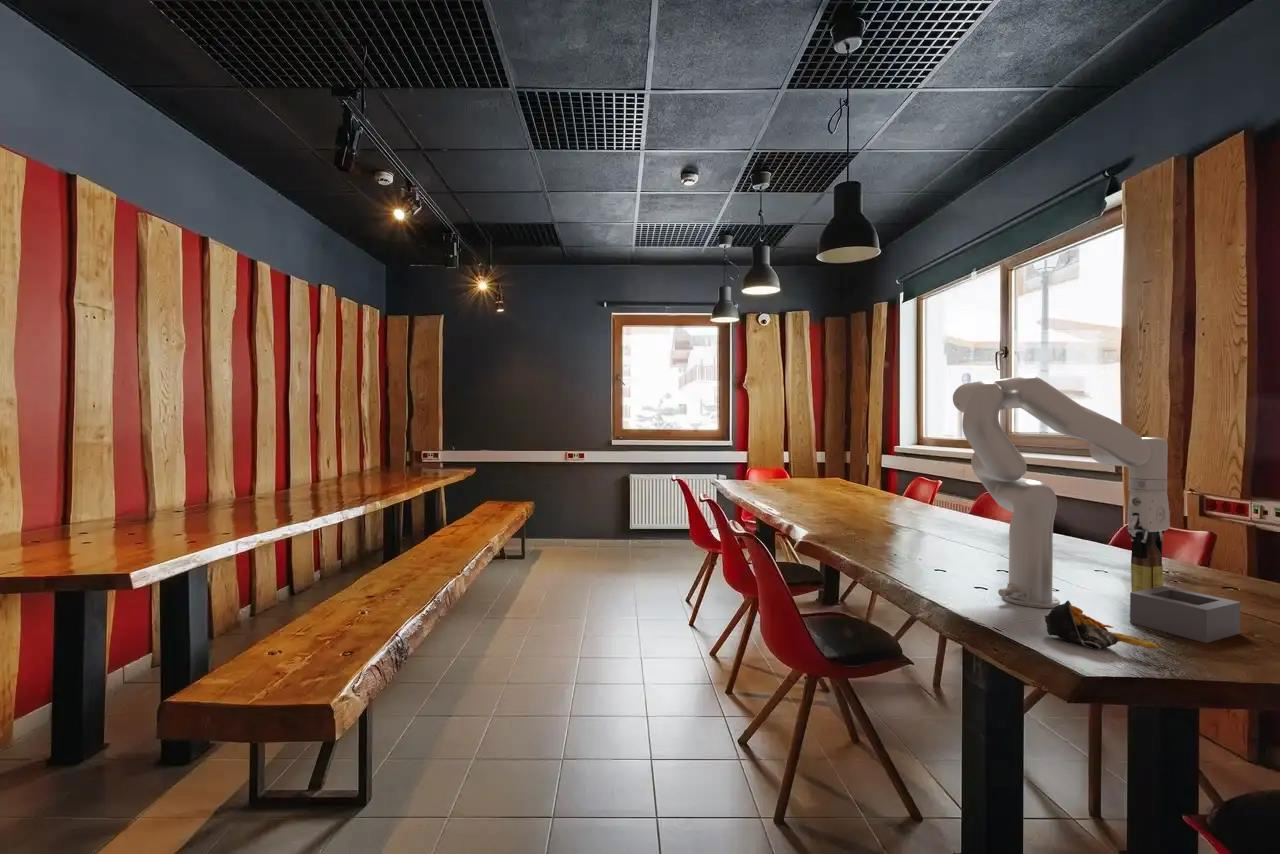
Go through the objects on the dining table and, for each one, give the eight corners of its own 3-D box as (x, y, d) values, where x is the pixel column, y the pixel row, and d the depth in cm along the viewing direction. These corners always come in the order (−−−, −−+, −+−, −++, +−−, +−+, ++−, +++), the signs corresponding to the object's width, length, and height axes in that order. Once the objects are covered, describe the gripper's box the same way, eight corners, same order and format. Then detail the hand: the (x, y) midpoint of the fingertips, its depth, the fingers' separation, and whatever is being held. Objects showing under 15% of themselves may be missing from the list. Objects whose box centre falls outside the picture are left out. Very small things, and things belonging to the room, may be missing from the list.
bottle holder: (1206, 643, 126) (1206, 610, 126) (1130, 622, 139) (1130, 592, 139) (1240, 633, 132) (1240, 602, 132) (1163, 614, 145) (1164, 585, 144)
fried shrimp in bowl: (1042, 607, 135) (1140, 595, 125) (1059, 659, 130) (1163, 651, 120) (1034, 601, 129) (1137, 587, 119) (1052, 655, 124) (1161, 645, 114)
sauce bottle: (1157, 603, 154) (1159, 526, 154) (1167, 610, 148) (1169, 530, 148) (1126, 600, 156) (1128, 524, 156) (1134, 606, 151) (1136, 527, 151)
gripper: (1145, 488, 145) (1144, 563, 145) (1184, 485, 152) (1183, 556, 152) (1110, 485, 152) (1110, 556, 152) (1149, 482, 159) (1148, 550, 159)
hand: (1146, 555), depth 152 cm, fingers closed on sauce bottle, 5 cm apart
